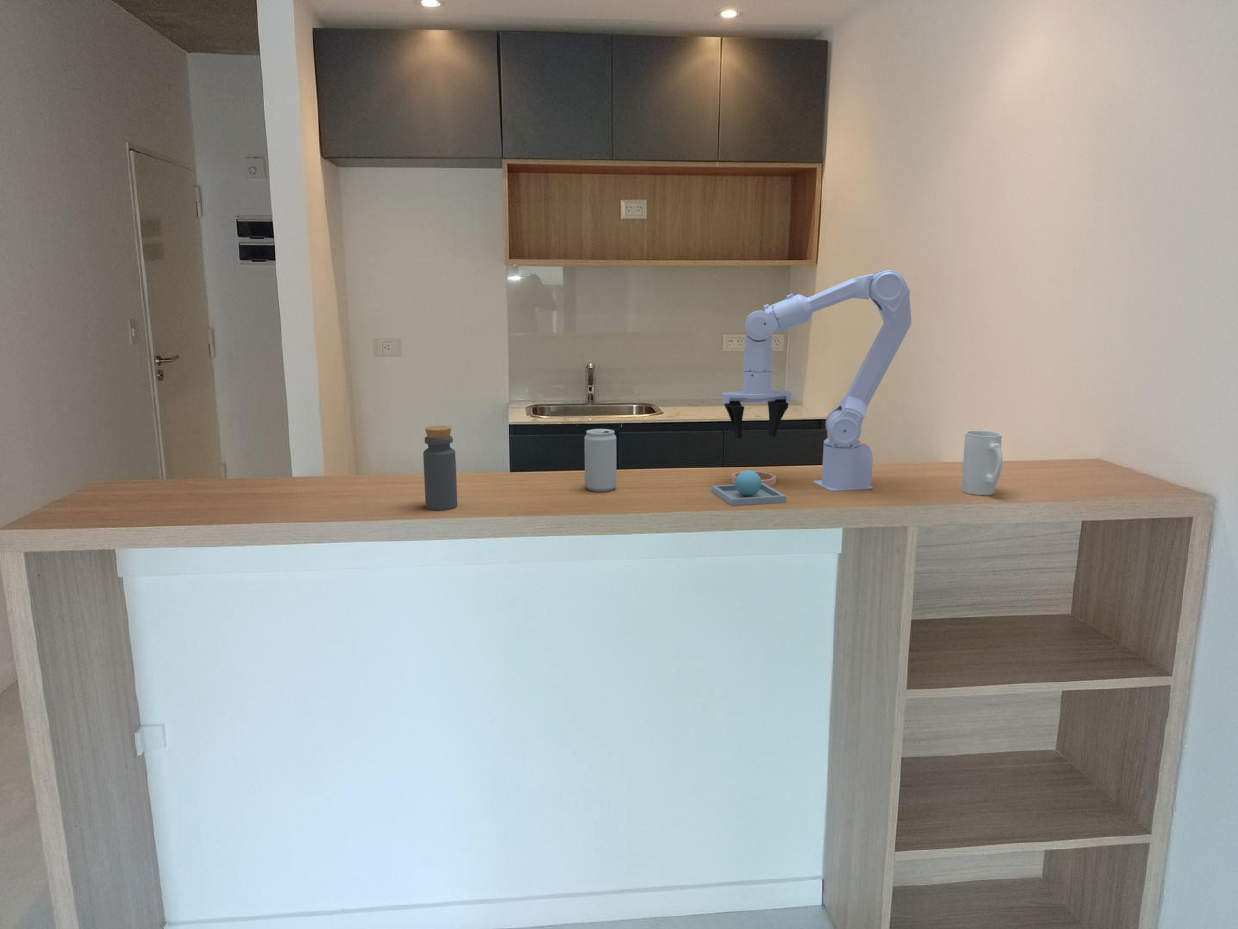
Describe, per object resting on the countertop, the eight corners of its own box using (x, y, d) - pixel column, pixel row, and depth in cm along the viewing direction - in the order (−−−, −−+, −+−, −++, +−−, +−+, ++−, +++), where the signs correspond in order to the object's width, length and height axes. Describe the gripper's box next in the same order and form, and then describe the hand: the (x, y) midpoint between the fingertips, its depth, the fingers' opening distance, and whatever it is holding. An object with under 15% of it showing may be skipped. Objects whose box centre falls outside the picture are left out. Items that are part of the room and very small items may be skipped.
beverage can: (612, 493, 172) (612, 434, 169) (581, 491, 173) (581, 432, 171) (619, 486, 178) (619, 428, 176) (588, 484, 179) (588, 427, 177)
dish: (764, 477, 186) (765, 469, 186) (783, 487, 177) (783, 479, 177) (724, 479, 184) (724, 472, 183) (741, 489, 175) (741, 482, 175)
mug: (953, 488, 177) (958, 430, 174) (983, 487, 178) (989, 429, 175) (981, 501, 167) (987, 440, 164) (1013, 499, 168) (1019, 439, 165)
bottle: (419, 506, 162) (415, 427, 159) (446, 500, 166) (442, 423, 163) (436, 512, 158) (433, 431, 155) (463, 506, 162) (460, 427, 159)
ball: (755, 492, 171) (756, 467, 170) (764, 498, 166) (765, 473, 165) (731, 492, 170) (732, 467, 169) (739, 499, 165) (740, 473, 164)
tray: (762, 490, 175) (763, 482, 174) (786, 504, 164) (786, 496, 164) (711, 493, 172) (711, 485, 172) (731, 507, 162) (731, 499, 161)
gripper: (782, 367, 181) (779, 431, 184) (716, 369, 177) (715, 434, 180) (797, 371, 174) (793, 437, 177) (729, 373, 171) (727, 440, 174)
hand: (755, 436), depth 178 cm, fingers open, 7 cm apart
